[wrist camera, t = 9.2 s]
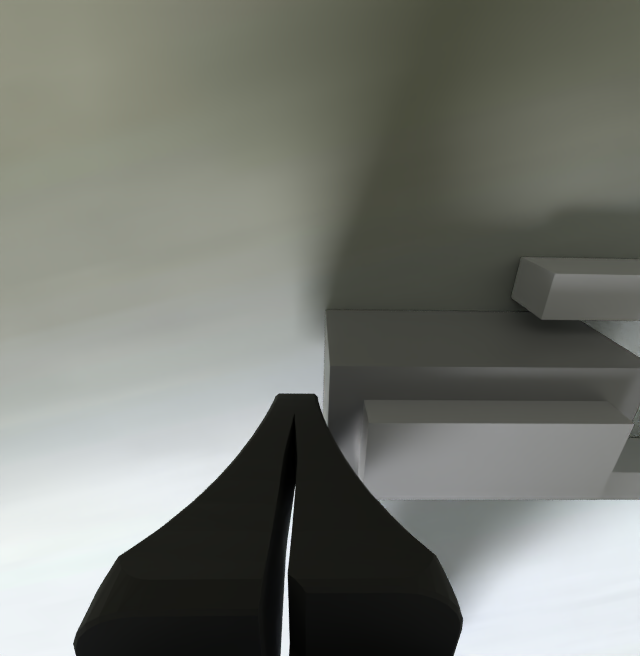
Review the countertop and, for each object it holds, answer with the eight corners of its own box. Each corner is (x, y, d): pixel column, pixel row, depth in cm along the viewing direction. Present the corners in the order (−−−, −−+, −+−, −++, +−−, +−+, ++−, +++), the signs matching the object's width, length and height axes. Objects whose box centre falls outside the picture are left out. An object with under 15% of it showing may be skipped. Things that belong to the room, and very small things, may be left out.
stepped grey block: (531, 419, 16) (618, 525, 11) (322, 418, 16) (326, 525, 11) (566, 312, 14) (690, 389, 9) (325, 309, 14) (331, 387, 9)
